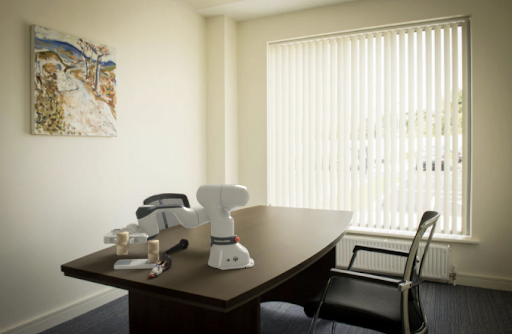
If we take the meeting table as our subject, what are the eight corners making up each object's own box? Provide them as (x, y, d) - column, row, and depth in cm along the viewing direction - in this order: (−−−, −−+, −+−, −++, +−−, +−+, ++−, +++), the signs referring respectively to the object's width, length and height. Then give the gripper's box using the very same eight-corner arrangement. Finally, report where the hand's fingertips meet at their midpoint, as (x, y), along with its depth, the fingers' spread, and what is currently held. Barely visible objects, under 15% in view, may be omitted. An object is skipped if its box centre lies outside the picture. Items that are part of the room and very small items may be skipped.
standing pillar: (158, 260, 182) (158, 239, 181) (157, 263, 177) (157, 242, 177) (149, 260, 181) (149, 240, 181) (147, 263, 177) (147, 242, 176)
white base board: (162, 261, 185) (162, 258, 185) (159, 268, 175) (159, 264, 175) (118, 262, 182) (118, 259, 182) (113, 269, 172) (112, 266, 172)
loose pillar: (128, 252, 180) (128, 231, 179) (126, 254, 176) (126, 233, 175) (119, 252, 180) (119, 231, 179) (116, 254, 175) (116, 233, 175)
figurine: (173, 251, 176) (152, 267, 159) (177, 264, 177) (156, 281, 160) (160, 253, 178) (137, 269, 162) (164, 266, 179) (142, 283, 162)
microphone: (165, 262, 195) (189, 248, 212) (167, 252, 193) (191, 239, 210) (158, 257, 197) (182, 244, 214) (159, 248, 195) (184, 235, 212)
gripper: (149, 241, 191) (144, 248, 178) (108, 242, 189) (100, 249, 175) (149, 229, 191) (144, 235, 177) (108, 229, 189) (100, 236, 175)
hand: (122, 242), depth 176 cm, fingers closed on loose pillar, 4 cm apart
